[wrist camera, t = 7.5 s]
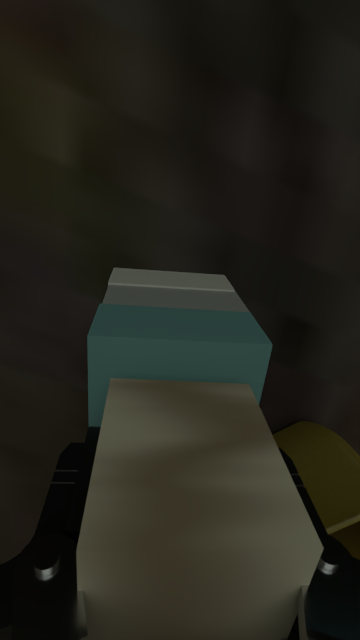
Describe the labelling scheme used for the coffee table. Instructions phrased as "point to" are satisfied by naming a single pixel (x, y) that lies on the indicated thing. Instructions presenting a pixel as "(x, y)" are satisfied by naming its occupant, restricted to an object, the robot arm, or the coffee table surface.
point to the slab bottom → (169, 279)
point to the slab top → (173, 349)
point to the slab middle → (174, 298)
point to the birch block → (191, 518)
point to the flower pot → (327, 478)
